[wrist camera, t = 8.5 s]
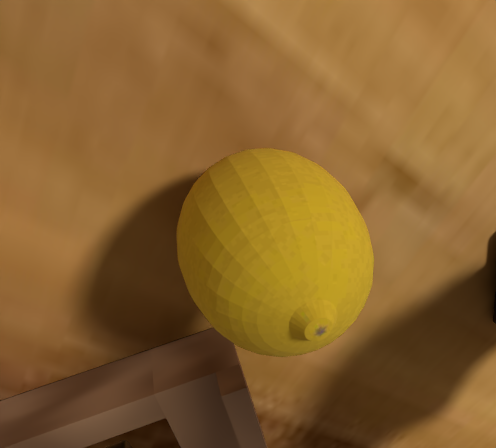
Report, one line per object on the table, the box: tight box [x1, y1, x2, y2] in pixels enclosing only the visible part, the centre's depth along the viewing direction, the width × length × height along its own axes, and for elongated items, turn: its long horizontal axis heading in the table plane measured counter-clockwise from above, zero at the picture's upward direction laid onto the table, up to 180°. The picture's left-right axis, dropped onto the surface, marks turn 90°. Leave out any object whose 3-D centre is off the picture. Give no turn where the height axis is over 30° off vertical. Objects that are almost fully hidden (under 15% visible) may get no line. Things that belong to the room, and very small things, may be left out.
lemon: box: [177, 148, 374, 357], centre depth 13 cm, size 6×6×8 cm
